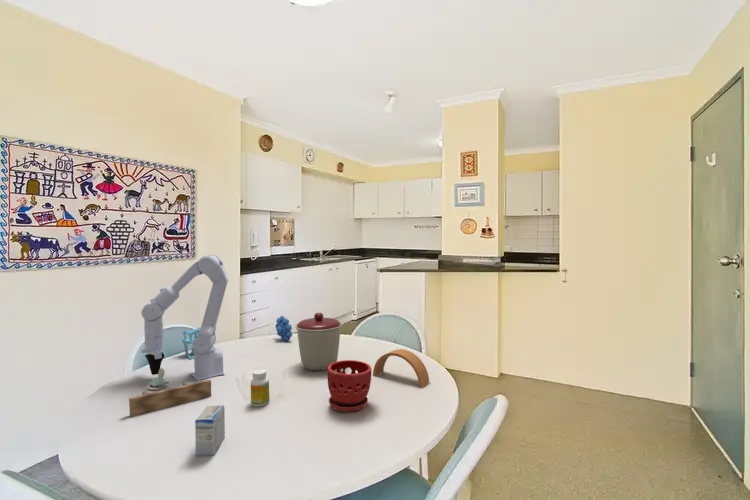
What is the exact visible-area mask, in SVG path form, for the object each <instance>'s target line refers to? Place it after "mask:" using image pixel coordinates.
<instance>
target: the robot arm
mask: <svg viewBox="0 0 750 500" xmlns="http://www.w3.org/2000/svg"><path fill="white" fill-rule="evenodd" d="M202 274H203V275H205V276H207V277H208V279H209V280H210V281H211V283H212V285H211V290H210V293H209V297H208V300H207V305H206V307H205V311H204V316H203V320H202V323H201V325H200V327H199V328H200V330H199V333H197V337H196V339H195V340H194V341H193V344H191V345H192V349H194V354H193V356H194V359H193V360H194V361H193V362H194V372H191V373H190V375H191V376H192V377H193V378H194V379H195V380H196V381H200V380H201V381H202V380H204V379H205V380H206V379H210V378H213V377H218V376H222V375H225V373H224V355H223V351H222V349H221V348H216V346H215V345H214V344H215V343H216V340H217V337H216V336H217V335H216V330H217V326H216V325H217V323H218V320H219V315H220V312H221V307H222V304H223V300H224V296H225V292H226V289H227V285H228V282H229V277H228V276H227V272H226V269H225V266H224V263H223V261H222V260H221V259H220V258H219V256H217V255H216V254H215V255H214V254H209V255H204V256H202V257H201V258H199V259H198V261H196V262H194V263H193V264H192V265H191V266H189V267H188V269H187V270H186V271H185V272H184V273H183V274H182V275H181V276H180V277H179V278H178V279H177V280H176V281H175V282H174V283H173V284H172V285H167V286H165V287H162V288H161V289H160V290H159V293H158V294H157V295H156V296H155V297H153V298H151V299H150V300H149V301H150V303H148V304H145V305H143V308H142V309H141V317H142V318H143V320H144V323H143V324H144V349H141V350H140V351H141V353H142V354H145V355H144V357H145V358H146V360H147V362H148V365H149V366H148V367H149V370H150V373H151V375H152V376H154V375H155V376H156V375H158V372H159V369H160V368H161V365H162V362H163V360H164V358H165V354H164V350H165V346H164V325H163V324H164V323H163V315H164V314H165V312H166V311H167V310H168V308H170V307H171V306H172V305H173V304H174V303H175V302H176V301H177V300H178V299H179V298H180V291H181V290H183V289H184V288H185V287H186V286H188V284H189V283H190V282H192V280H193V279H194V278H196V277H198V276H200V275H202Z"/></svg>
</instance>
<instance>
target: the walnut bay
mask: <svg viewBox="0 0 750 500" xmlns="http://www.w3.org/2000/svg"><path fill="white" fill-rule="evenodd" d="M210 397H212V380H211V379H210V378H208V379H205V380H201V381H197V382H193V383H190V382H189V381H188V380H186V381H182V385H180V386H176V387H171V388H166V389H162V390H158V391H157V390H156V391H153V392H150V391H149V389H146V390H145V389H144V390H142V394H141V395H136V396H131V397H129V398H128V400H129V401H128V402H129V405H128V406H129V417H130V418H132V417H136V416H140V415H143V414H144V415H145V414H147V413H151V412H156V411H159V410H160V411H161V410H163V409H167V408H172V407H175V406H179V405H182V404H187V403H191V402H194V400H195V401H199V400H202V399H206V398H210ZM198 399H199V400H198Z"/></svg>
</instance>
